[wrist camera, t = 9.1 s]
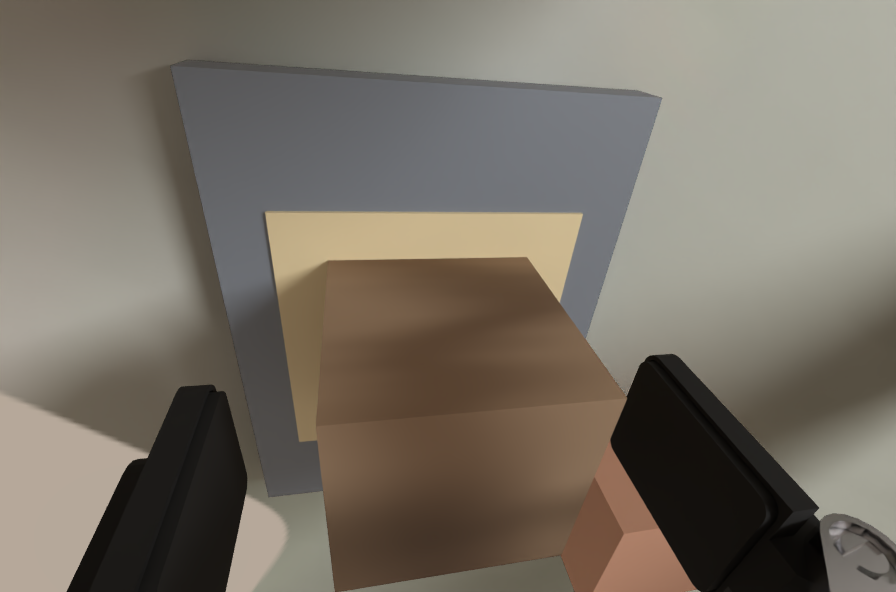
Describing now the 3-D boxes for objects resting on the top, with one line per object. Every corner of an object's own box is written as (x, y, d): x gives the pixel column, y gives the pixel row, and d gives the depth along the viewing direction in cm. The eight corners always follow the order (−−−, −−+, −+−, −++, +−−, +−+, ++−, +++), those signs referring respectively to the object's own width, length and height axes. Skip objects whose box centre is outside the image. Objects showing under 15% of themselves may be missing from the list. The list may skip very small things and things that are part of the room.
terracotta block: (671, 394, 18) (768, 510, 14) (634, 471, 21) (705, 587, 16) (556, 404, 17) (624, 534, 13) (533, 484, 20) (582, 611, 16)
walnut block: (527, 257, 11) (627, 397, 7) (499, 395, 14) (561, 555, 10) (327, 260, 10) (315, 426, 6) (338, 408, 13) (335, 592, 9)
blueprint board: (638, 90, 11) (664, 98, 10) (536, 443, 18) (546, 466, 17) (187, 60, 9) (167, 66, 8) (272, 471, 16) (268, 499, 15)
